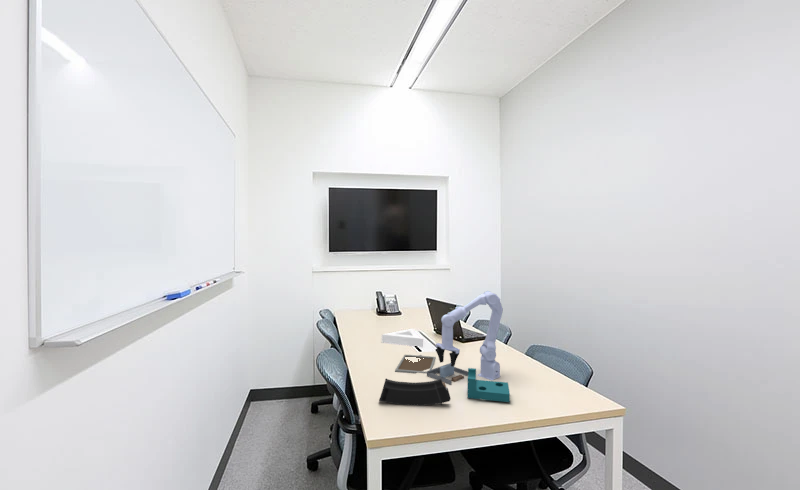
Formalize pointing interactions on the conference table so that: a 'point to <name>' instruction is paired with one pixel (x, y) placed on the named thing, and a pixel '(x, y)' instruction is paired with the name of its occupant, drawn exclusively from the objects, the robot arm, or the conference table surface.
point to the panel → (446, 370)
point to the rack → (433, 375)
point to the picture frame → (415, 364)
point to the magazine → (415, 393)
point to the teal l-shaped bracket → (486, 388)
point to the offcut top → (457, 378)
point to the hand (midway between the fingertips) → (447, 364)
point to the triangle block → (403, 338)
